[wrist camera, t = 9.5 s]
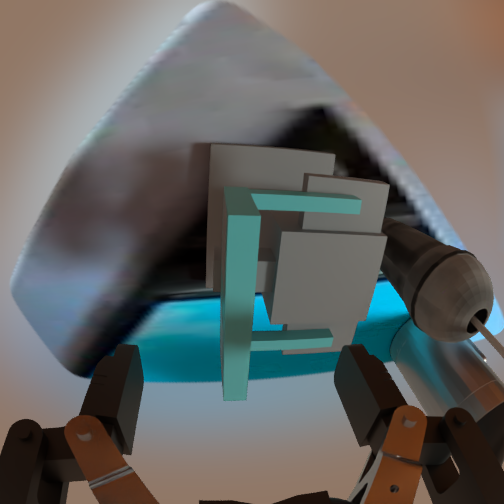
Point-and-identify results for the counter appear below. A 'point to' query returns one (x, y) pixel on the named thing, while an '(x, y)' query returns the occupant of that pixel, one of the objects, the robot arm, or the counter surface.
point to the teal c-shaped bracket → (244, 278)
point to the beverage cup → (438, 284)
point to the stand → (303, 239)
